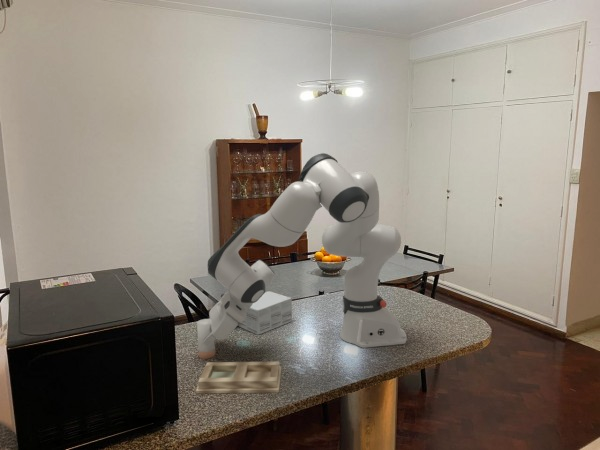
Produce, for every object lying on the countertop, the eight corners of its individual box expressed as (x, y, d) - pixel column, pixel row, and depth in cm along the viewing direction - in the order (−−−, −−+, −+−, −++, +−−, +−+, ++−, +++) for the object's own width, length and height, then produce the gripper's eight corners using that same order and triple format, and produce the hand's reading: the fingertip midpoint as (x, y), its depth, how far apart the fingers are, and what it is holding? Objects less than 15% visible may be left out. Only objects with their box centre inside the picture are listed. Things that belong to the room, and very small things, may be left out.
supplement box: (269, 313, 175) (268, 290, 173) (292, 321, 165) (292, 297, 164) (235, 325, 163) (234, 301, 161) (258, 335, 154) (257, 309, 152)
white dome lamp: (216, 351, 142) (215, 318, 140) (213, 358, 137) (211, 325, 135) (200, 351, 142) (198, 318, 140) (196, 359, 137) (194, 325, 135)
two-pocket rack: (281, 368, 130) (281, 359, 129) (278, 392, 117) (278, 382, 116) (206, 369, 130) (206, 360, 129) (195, 393, 117) (195, 383, 117)
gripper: (223, 288, 148) (195, 319, 147) (229, 309, 128) (197, 344, 128) (237, 299, 150) (209, 330, 149) (245, 321, 130) (213, 357, 129)
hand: (204, 337), depth 138 cm, fingers open, 8 cm apart
